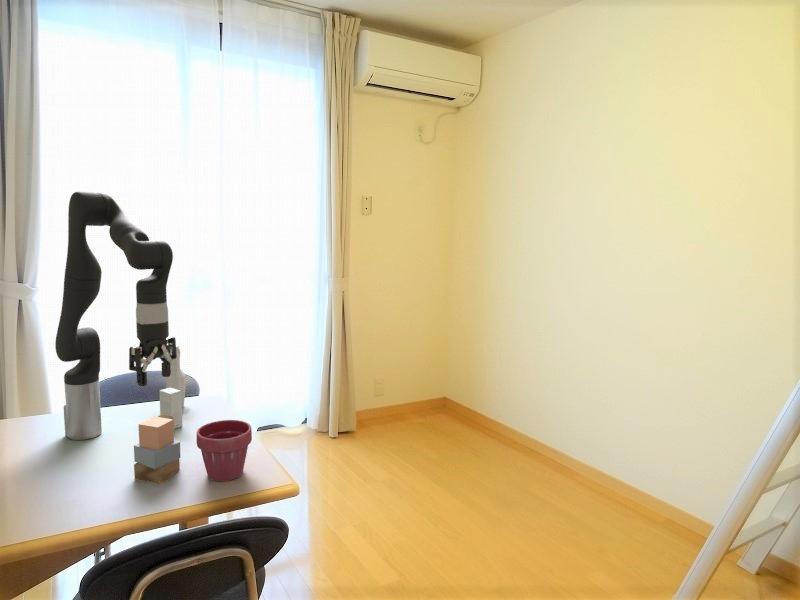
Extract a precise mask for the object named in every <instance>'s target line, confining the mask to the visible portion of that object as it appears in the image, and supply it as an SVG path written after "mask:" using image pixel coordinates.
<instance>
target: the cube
mask: <svg viewBox="0 0 800 600" xmlns="http://www.w3.org/2000/svg"><path fill="white" fill-rule="evenodd" d="M174 440H175V429H174V421H173V419H167V418H161V417H158V416H152V417H151V418H149V419H146V420H145V421H142V422H141V423H138V444H139V446H142V447H147V448H153V449H158V450H159V449H160V448H162V447H164V446H166V445H168V444H169V443H171V442H173V441H174Z"/></svg>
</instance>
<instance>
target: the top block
mask: <svg viewBox="0 0 800 600" xmlns="http://www.w3.org/2000/svg"><path fill="white" fill-rule="evenodd" d="M133 459H134V461H133V462H135V463H140V464H142V465H145V466H148V467H150V468H153V469H156V468H158V467H161V466H163V465H165V464H167V463H170V462H172V461H174V460H177V459H179V460H180V459H181V442H180V441H178V440H177V439H176V440H175V439H174V441H173V442H171V443H169V444H168V445H166V446H164V447H162V448H160V449H159V450H158V449H153V448H147V447H142V446H139V443H137V444H134V445H133Z"/></svg>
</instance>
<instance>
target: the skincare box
mask: <svg viewBox="0 0 800 600" xmlns="http://www.w3.org/2000/svg"><path fill="white" fill-rule="evenodd" d="M158 392H159V416H160V415H171V416H172V417H173V419H174V430H175V429H178V428H180V427H183V425H184V424H183V407H182V393H181V391H180V390H177V389H173V388H167V389H166V388H164V389H159V391H158Z"/></svg>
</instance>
